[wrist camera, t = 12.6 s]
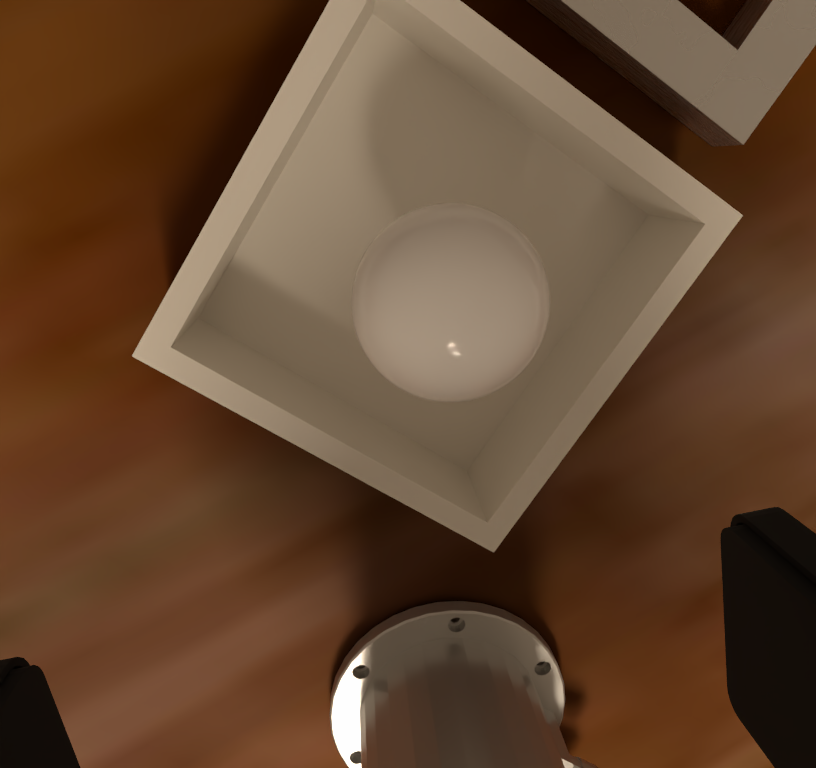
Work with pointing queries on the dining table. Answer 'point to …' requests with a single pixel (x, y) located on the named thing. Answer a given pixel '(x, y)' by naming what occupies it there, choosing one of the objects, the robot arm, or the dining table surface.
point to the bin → (407, 190)
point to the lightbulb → (450, 302)
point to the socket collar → (696, 56)
